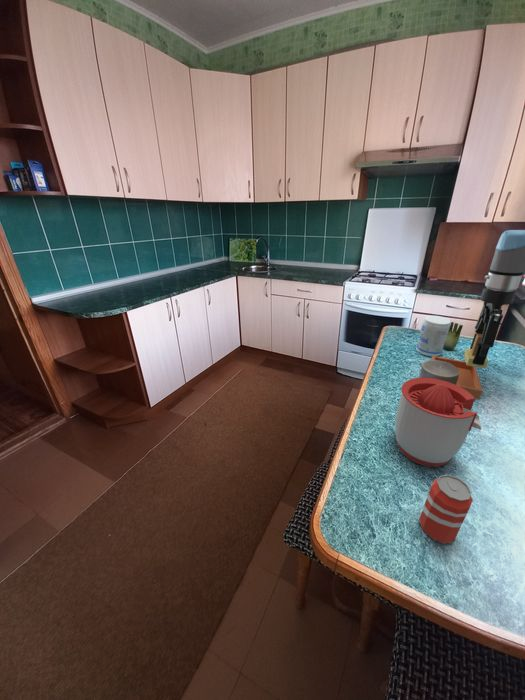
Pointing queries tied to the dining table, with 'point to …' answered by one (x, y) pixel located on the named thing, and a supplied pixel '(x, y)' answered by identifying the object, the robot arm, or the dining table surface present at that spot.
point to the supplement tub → (433, 335)
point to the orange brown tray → (465, 376)
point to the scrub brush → (471, 353)
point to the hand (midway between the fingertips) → (475, 357)
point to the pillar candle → (439, 371)
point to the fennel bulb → (452, 336)
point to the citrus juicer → (433, 420)
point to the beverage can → (445, 508)
